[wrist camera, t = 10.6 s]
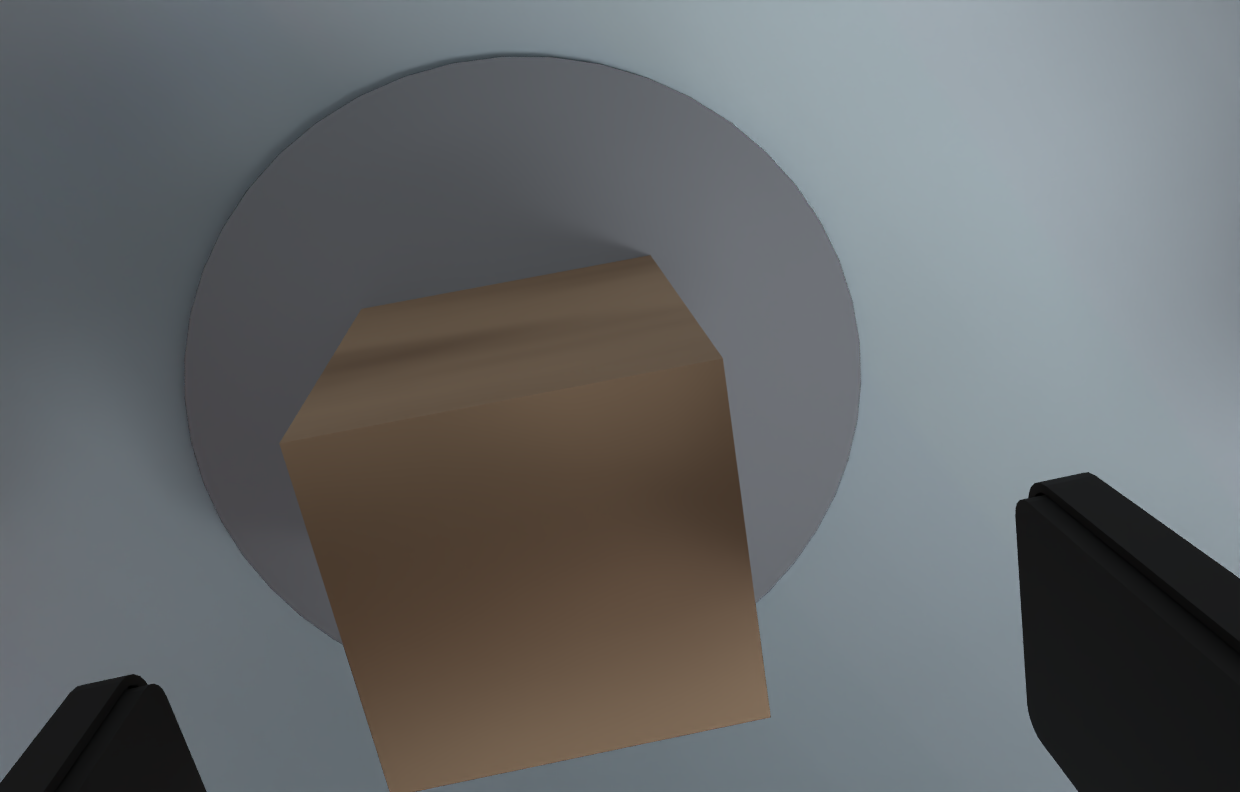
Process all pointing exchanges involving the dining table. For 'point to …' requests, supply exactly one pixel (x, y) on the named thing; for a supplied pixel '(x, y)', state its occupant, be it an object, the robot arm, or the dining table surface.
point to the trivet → (519, 276)
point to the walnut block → (531, 524)
